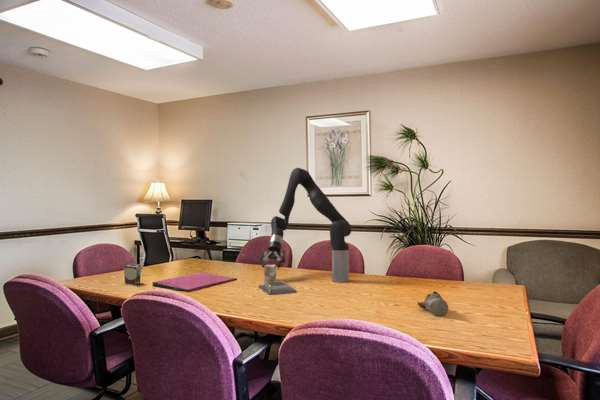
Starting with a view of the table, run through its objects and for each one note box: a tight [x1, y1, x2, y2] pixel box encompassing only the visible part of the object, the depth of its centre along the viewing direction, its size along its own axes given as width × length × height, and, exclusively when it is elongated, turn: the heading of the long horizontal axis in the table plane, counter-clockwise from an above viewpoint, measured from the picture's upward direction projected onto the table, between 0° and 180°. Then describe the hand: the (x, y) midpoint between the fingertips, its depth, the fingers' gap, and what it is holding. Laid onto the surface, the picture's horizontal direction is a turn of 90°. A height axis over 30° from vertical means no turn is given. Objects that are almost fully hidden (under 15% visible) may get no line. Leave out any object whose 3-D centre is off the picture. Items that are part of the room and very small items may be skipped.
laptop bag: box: [152, 272, 238, 293], centre depth 217 cm, size 40×4×27 cm
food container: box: [122, 263, 143, 286], centre depth 218 cm, size 12×6×10 cm, turn 58°
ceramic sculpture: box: [416, 290, 449, 317], centre depth 158 cm, size 11×9×15 cm
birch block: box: [263, 264, 277, 284], centre depth 220 cm, size 5×7×9 cm
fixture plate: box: [258, 280, 297, 296], centre depth 200 cm, size 14×18×4 cm
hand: (270, 267), depth 222 cm, fingers open, 8 cm apart
